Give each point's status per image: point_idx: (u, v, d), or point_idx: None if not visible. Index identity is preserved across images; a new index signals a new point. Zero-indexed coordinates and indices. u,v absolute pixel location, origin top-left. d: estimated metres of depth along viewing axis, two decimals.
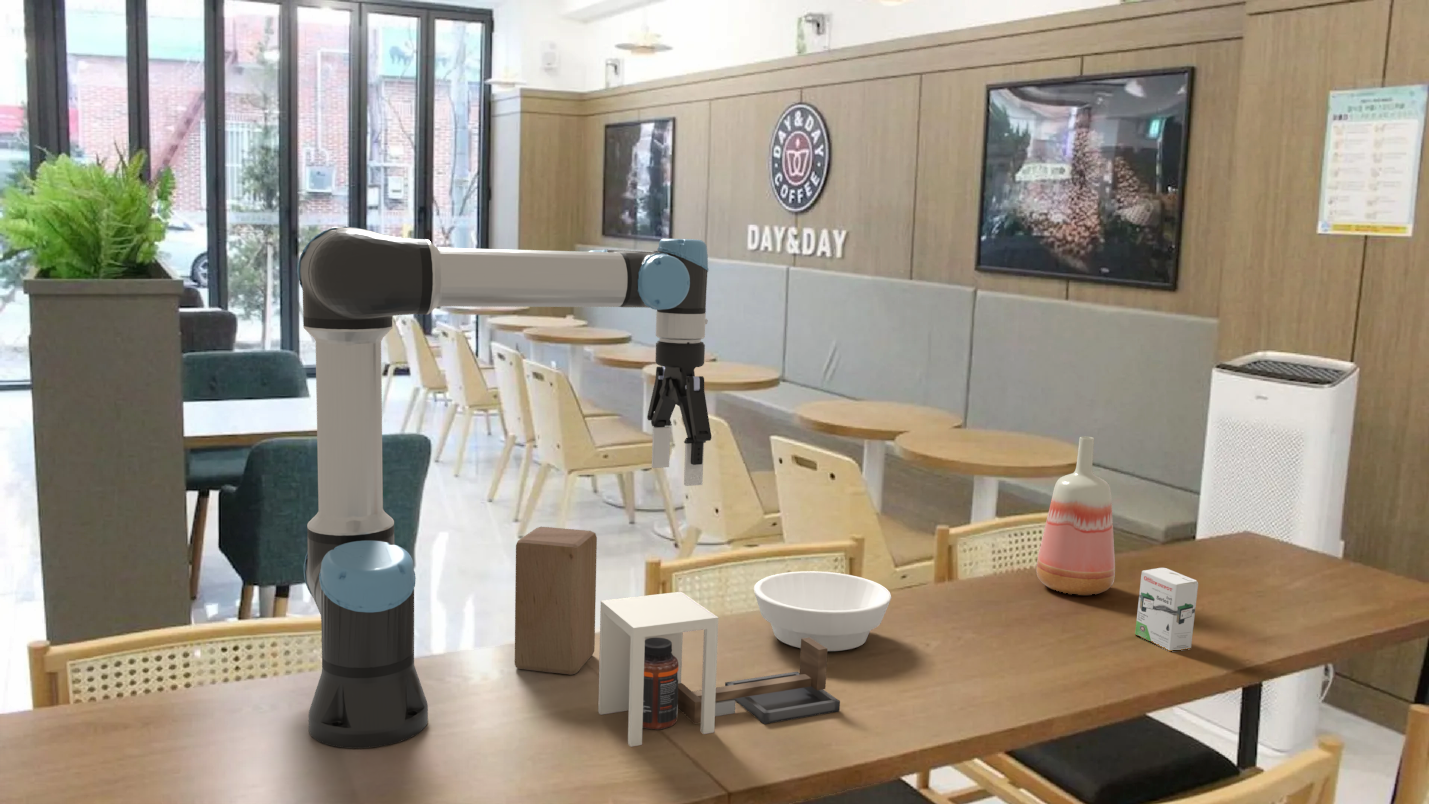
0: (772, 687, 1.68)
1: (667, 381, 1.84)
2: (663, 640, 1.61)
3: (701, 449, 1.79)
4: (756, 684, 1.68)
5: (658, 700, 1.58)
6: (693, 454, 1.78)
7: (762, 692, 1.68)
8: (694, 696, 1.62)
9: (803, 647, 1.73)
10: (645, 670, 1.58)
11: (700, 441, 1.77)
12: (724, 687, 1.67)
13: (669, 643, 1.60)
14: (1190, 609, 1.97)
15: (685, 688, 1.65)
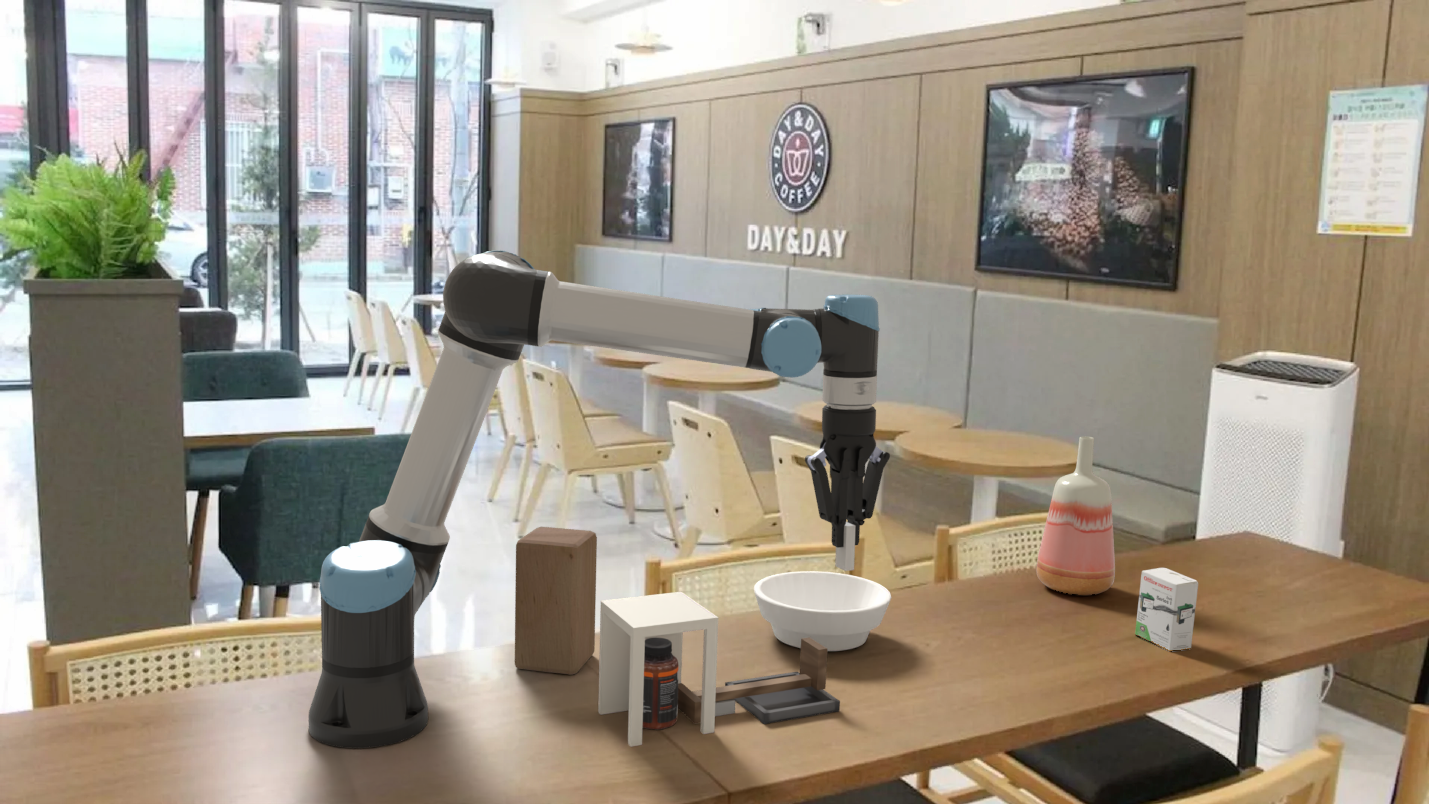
0: (772, 687, 1.68)
1: None
2: (663, 640, 1.61)
3: (836, 531, 1.69)
4: (756, 684, 1.68)
5: (658, 700, 1.58)
6: None
7: (762, 692, 1.68)
8: (694, 696, 1.62)
9: (803, 647, 1.73)
10: (645, 670, 1.58)
11: None
12: (724, 687, 1.67)
13: (669, 643, 1.60)
14: (1190, 609, 1.97)
15: (685, 688, 1.65)
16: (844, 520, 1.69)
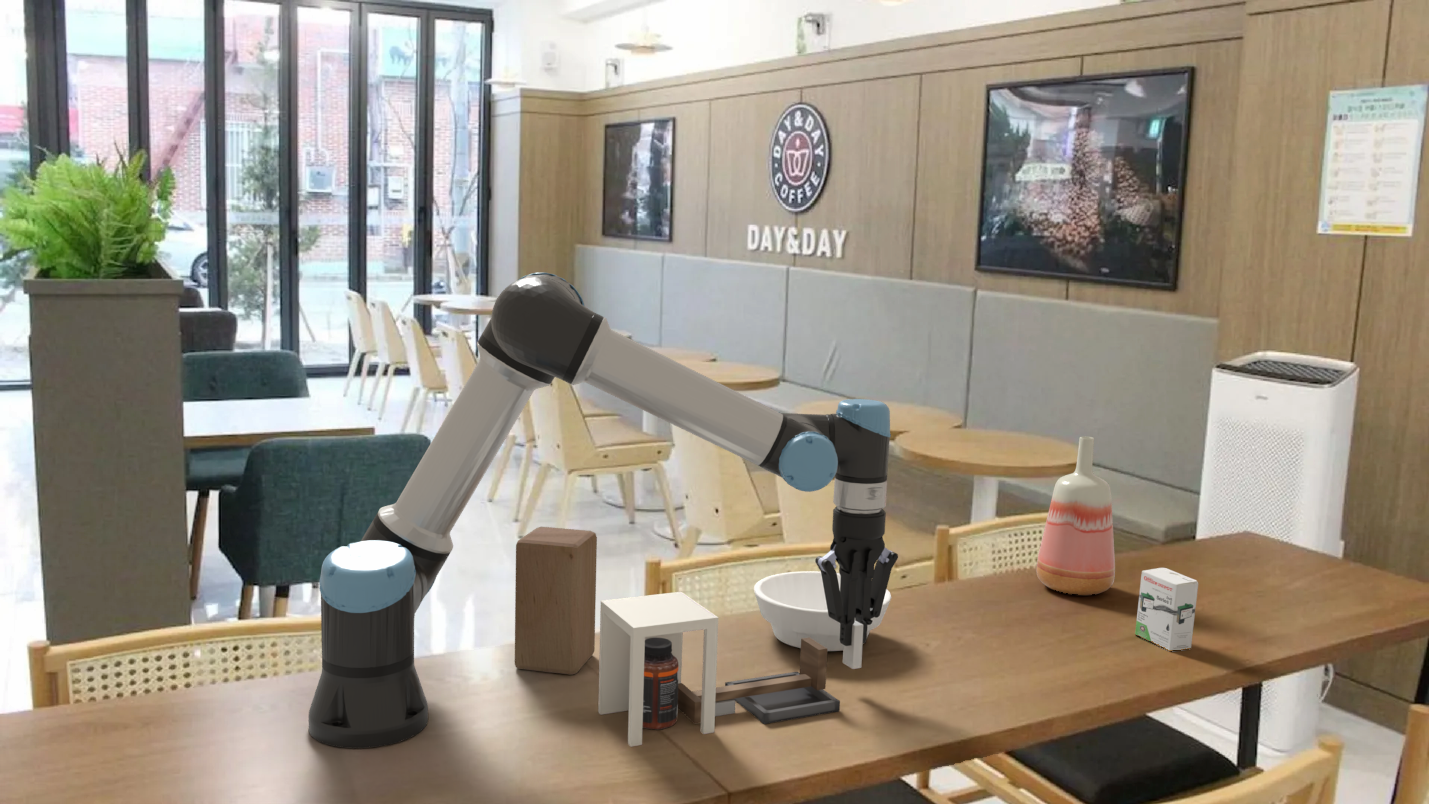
0: (772, 687, 1.68)
1: None
2: (663, 640, 1.61)
3: (844, 630, 1.73)
4: (756, 684, 1.68)
5: (658, 700, 1.58)
6: None
7: (762, 692, 1.68)
8: (694, 696, 1.62)
9: (803, 647, 1.73)
10: (645, 670, 1.58)
11: None
12: (724, 687, 1.67)
13: (669, 643, 1.60)
14: (1190, 609, 1.97)
15: (685, 688, 1.65)
16: (853, 620, 1.72)
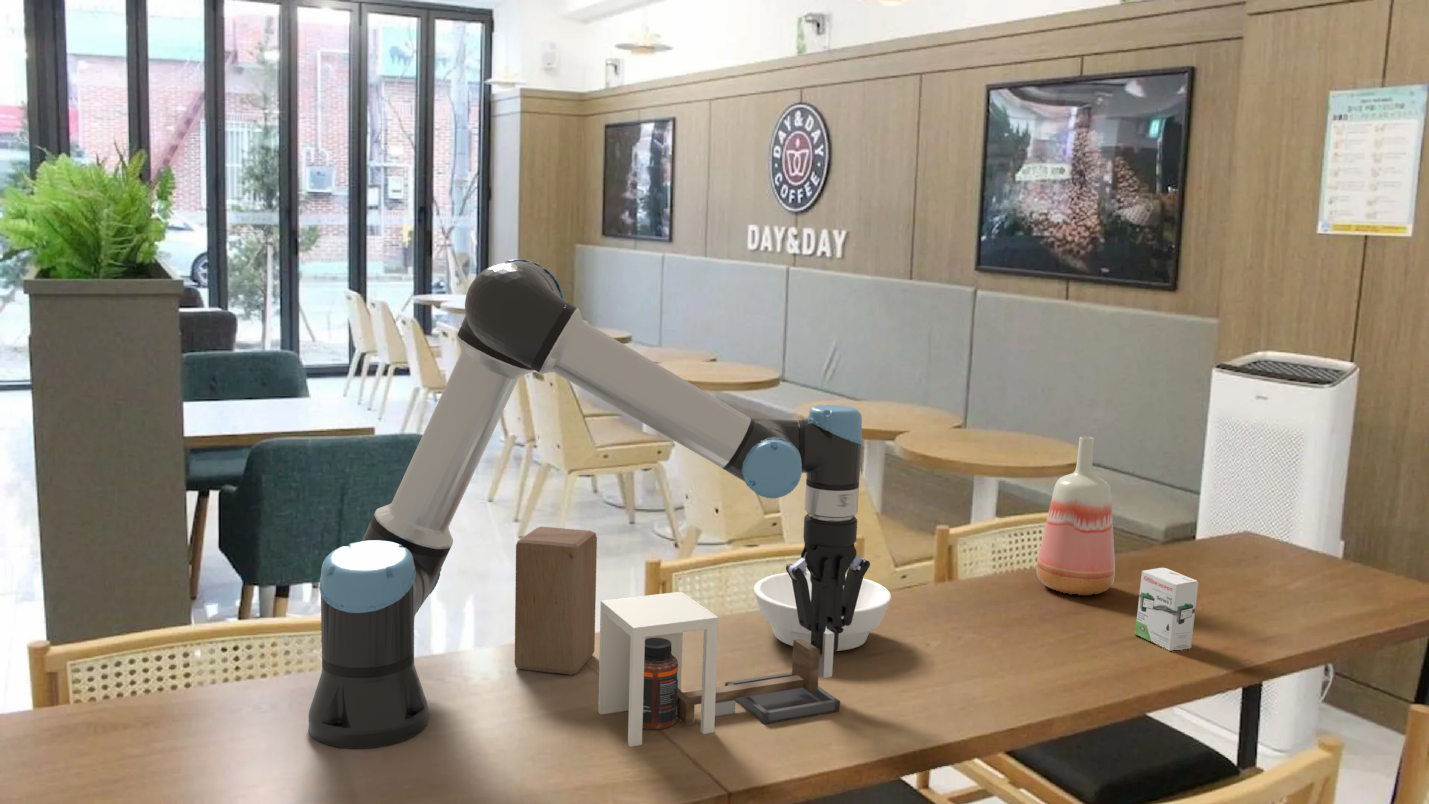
0: (764, 688, 1.68)
1: None
2: (663, 640, 1.61)
3: (815, 638, 1.71)
4: (748, 685, 1.68)
5: (657, 700, 1.58)
6: None
7: (754, 693, 1.67)
8: (685, 697, 1.62)
9: (795, 648, 1.72)
10: (644, 670, 1.58)
11: None
12: (716, 688, 1.66)
13: (669, 643, 1.60)
14: (1190, 609, 1.97)
15: None
16: (823, 628, 1.70)
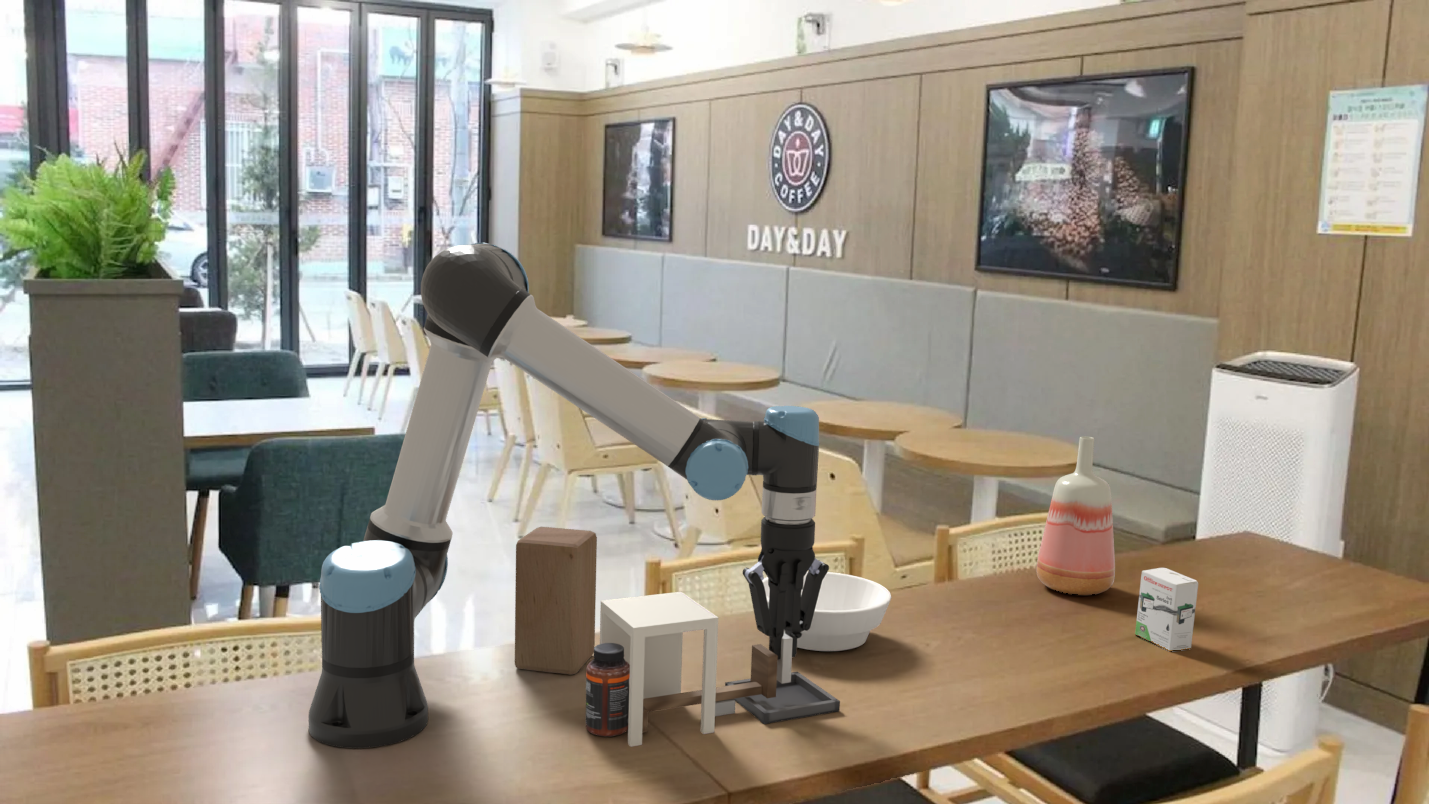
0: (721, 695, 1.65)
1: None
2: (616, 646, 1.58)
3: (773, 643, 1.68)
4: None
5: (607, 706, 1.56)
6: None
7: None
8: None
9: (754, 654, 1.69)
10: (594, 675, 1.56)
11: None
12: (671, 695, 1.63)
13: (621, 649, 1.57)
14: (1190, 609, 1.97)
15: None
16: (781, 633, 1.67)
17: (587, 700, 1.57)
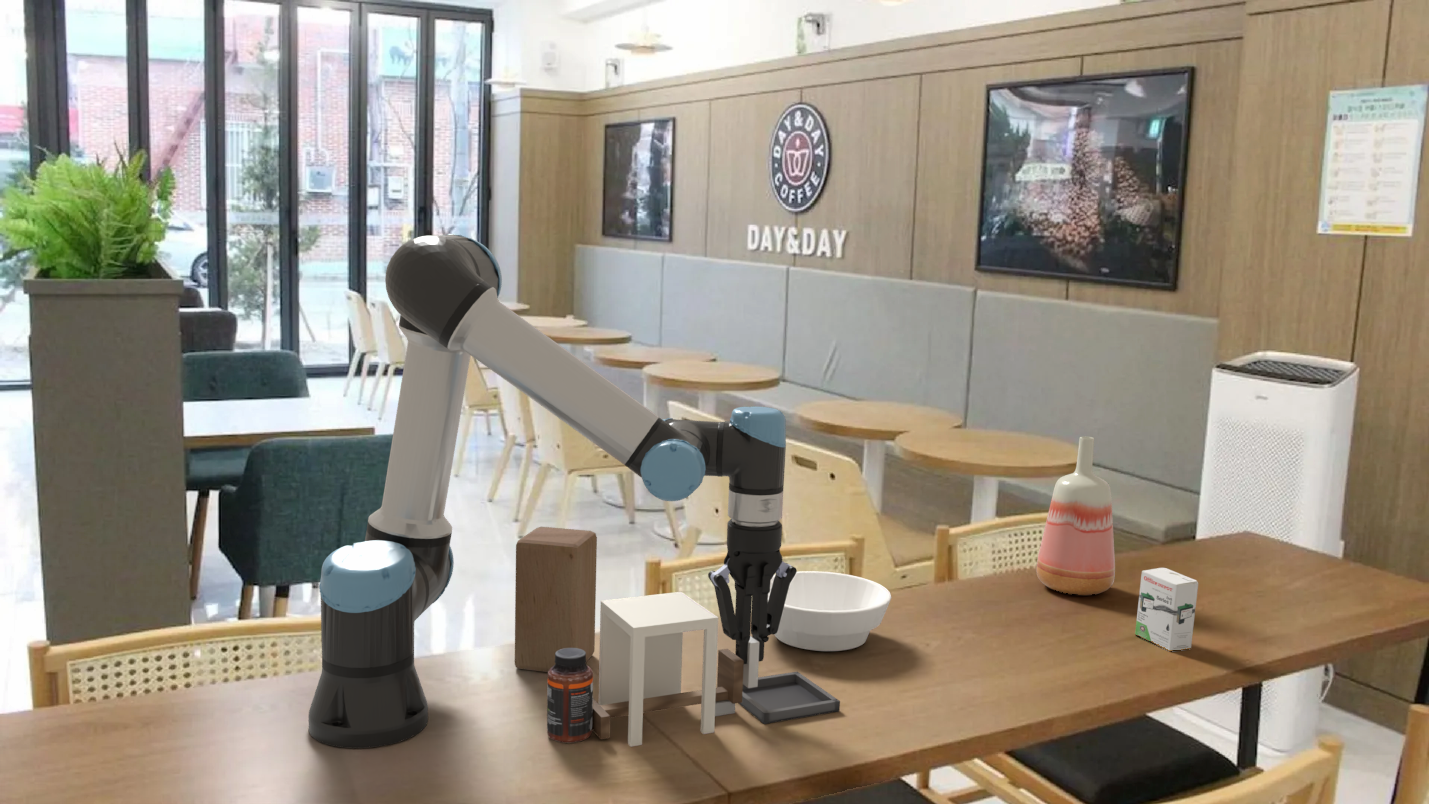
0: (686, 700, 1.63)
1: None
2: (577, 650, 1.56)
3: (739, 647, 1.66)
4: (669, 697, 1.62)
5: (568, 712, 1.53)
6: None
7: (675, 706, 1.62)
8: (601, 710, 1.56)
9: (720, 659, 1.67)
10: (555, 681, 1.53)
11: None
12: None
13: (582, 654, 1.55)
14: (1190, 609, 1.97)
15: (594, 702, 1.59)
16: (748, 637, 1.65)
17: (548, 706, 1.55)
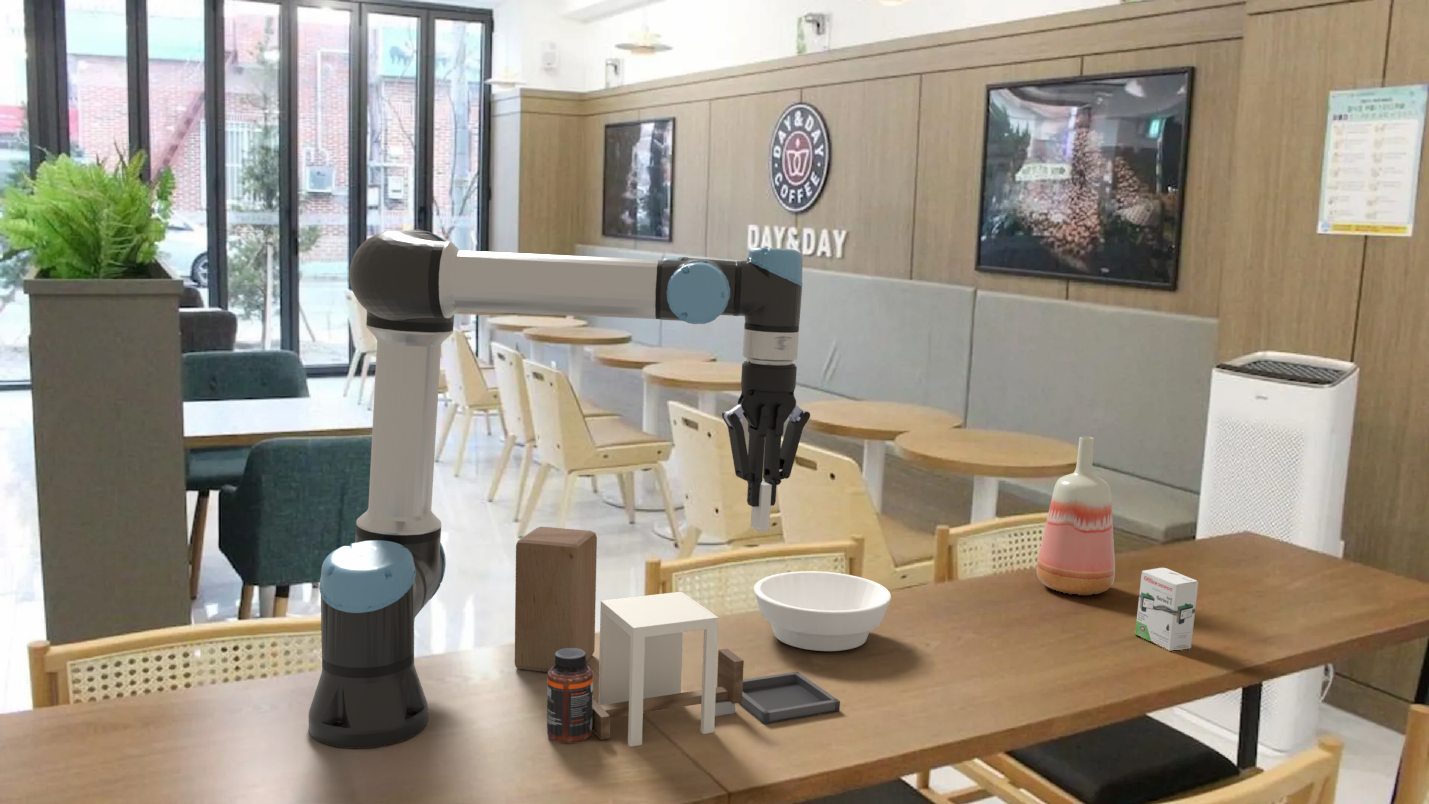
0: (686, 700, 1.63)
1: None
2: (577, 651, 1.56)
3: (751, 490, 1.66)
4: (669, 697, 1.62)
5: (568, 713, 1.53)
6: None
7: (675, 706, 1.62)
8: (601, 710, 1.56)
9: (720, 659, 1.67)
10: (555, 681, 1.53)
11: None
12: None
13: (582, 654, 1.55)
14: (1190, 609, 1.97)
15: (594, 702, 1.59)
16: (760, 479, 1.65)
17: (548, 706, 1.55)
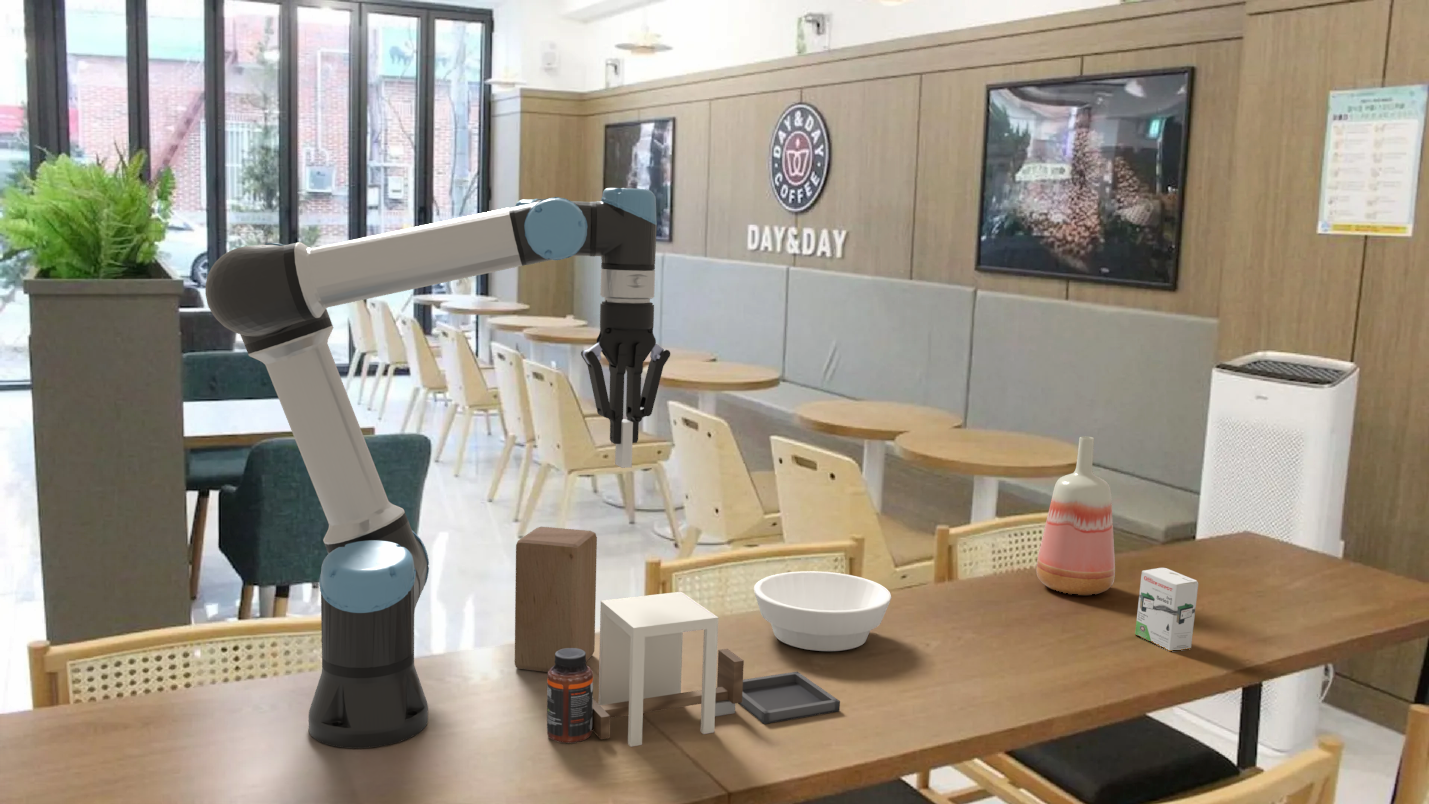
0: (686, 700, 1.63)
1: None
2: (577, 651, 1.56)
3: (613, 427, 1.69)
4: (669, 697, 1.62)
5: (568, 713, 1.53)
6: None
7: (675, 706, 1.62)
8: (601, 710, 1.56)
9: (720, 659, 1.67)
10: (555, 681, 1.53)
11: None
12: None
13: (582, 654, 1.55)
14: (1190, 609, 1.97)
15: (594, 702, 1.59)
16: (621, 416, 1.68)
17: (548, 706, 1.55)
